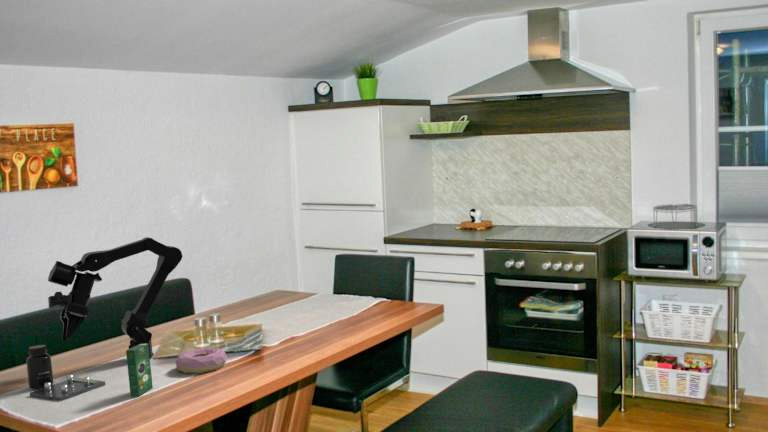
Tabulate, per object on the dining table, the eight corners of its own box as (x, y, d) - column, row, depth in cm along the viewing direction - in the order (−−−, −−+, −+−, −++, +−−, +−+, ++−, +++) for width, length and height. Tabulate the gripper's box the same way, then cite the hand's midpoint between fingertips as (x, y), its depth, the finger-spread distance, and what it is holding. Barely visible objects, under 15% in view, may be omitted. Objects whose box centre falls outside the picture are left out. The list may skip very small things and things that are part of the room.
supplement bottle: (44, 389, 233) (39, 349, 232) (24, 390, 235) (19, 350, 234) (58, 382, 240) (54, 343, 239) (38, 382, 242) (33, 344, 240)
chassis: (74, 380, 240) (73, 371, 240) (105, 384, 233) (104, 374, 233) (29, 396, 228) (28, 385, 228) (61, 401, 220) (59, 390, 220)
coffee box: (144, 387, 227) (139, 342, 226) (153, 387, 226) (148, 342, 225) (129, 397, 219) (124, 350, 218) (139, 396, 218) (134, 350, 217)
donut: (166, 372, 243) (164, 356, 242) (206, 359, 254) (205, 343, 254) (197, 378, 233) (195, 361, 232) (238, 364, 244) (236, 348, 244)
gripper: (51, 288, 255) (35, 335, 250) (58, 279, 239) (41, 329, 234) (87, 297, 259) (71, 344, 254) (95, 289, 243) (79, 339, 238)
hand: (65, 339), depth 245 cm, fingers open, 9 cm apart
